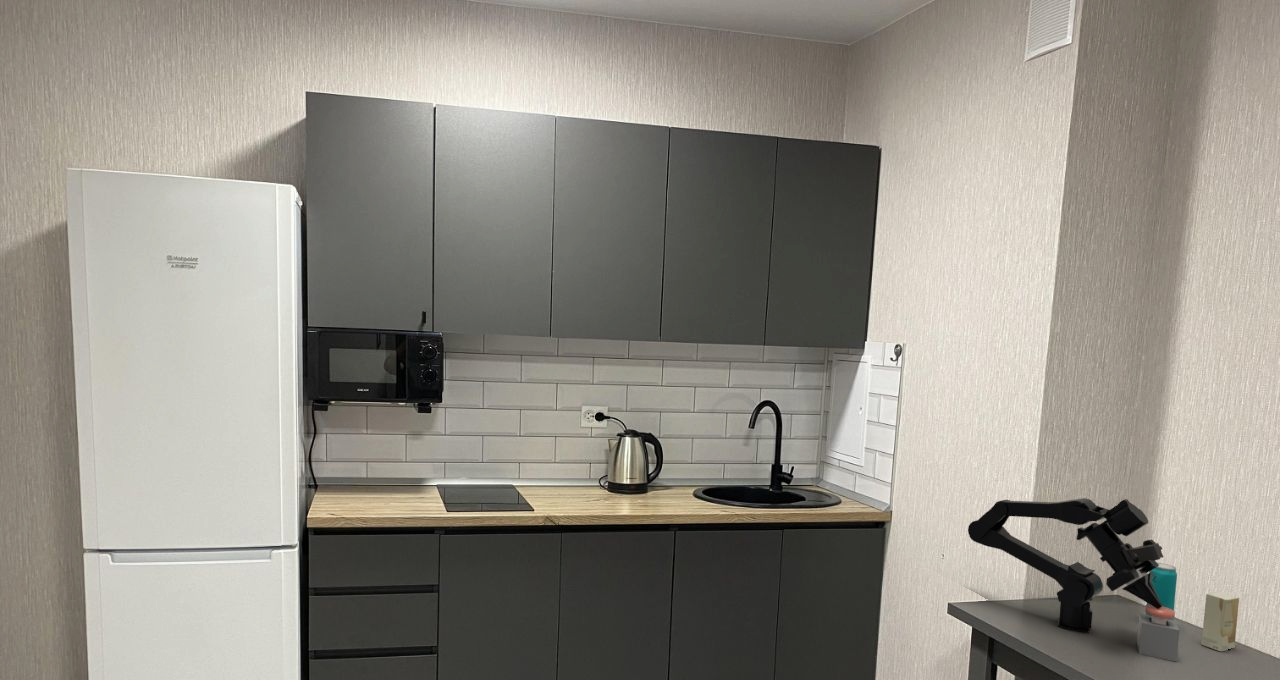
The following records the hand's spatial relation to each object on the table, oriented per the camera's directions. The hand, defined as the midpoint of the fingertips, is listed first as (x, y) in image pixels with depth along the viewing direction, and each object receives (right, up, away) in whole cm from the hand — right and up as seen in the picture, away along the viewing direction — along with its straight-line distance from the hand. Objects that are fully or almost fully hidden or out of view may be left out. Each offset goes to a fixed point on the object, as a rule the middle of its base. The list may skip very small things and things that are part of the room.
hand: (1160, 607), depth 181 cm
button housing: (-1, -10, 0) cm, 10 cm away
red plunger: (-1, -8, 0) cm, 8 cm away
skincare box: (+18, -11, +6) cm, 22 cm away
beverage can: (+12, -11, +19) cm, 24 cm away
